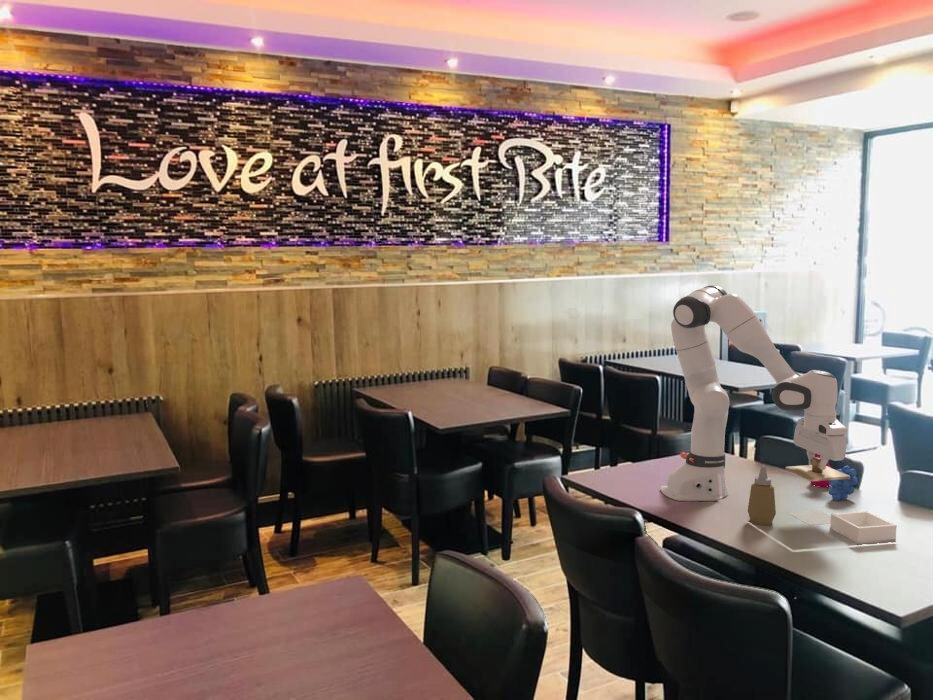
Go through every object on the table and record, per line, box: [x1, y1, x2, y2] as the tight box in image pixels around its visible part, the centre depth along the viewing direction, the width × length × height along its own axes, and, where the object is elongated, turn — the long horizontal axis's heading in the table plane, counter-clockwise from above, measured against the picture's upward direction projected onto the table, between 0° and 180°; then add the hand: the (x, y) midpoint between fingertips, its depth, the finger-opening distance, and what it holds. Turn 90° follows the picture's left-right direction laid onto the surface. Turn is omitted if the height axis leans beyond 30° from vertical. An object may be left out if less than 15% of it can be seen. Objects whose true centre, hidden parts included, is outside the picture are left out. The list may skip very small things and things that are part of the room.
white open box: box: [829, 510, 897, 546], centre depth 212 cm, size 12×12×5 cm
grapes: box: [827, 465, 859, 501], centre depth 243 cm, size 12×7×12 cm, turn 110°
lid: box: [784, 457, 850, 482], centre depth 224 cm, size 13×13×5 cm
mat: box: [788, 510, 831, 526], centre depth 226 cm, size 11×11×1 cm
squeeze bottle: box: [747, 465, 777, 526], centre depth 222 cm, size 8×8×18 cm
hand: (817, 467), depth 224 cm, fingers closed on lid, 3 cm apart
